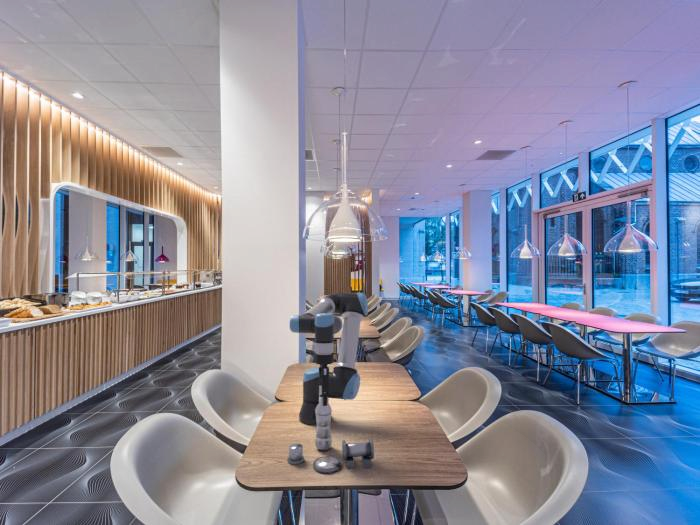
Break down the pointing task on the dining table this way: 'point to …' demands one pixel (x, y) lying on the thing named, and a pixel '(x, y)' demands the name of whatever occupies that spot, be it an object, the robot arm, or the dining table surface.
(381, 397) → the dining table surface
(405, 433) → the dining table surface
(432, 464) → the dining table surface
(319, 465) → the grey metal parts
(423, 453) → the dining table surface
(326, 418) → the plastic bottle
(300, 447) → the metal thimble
